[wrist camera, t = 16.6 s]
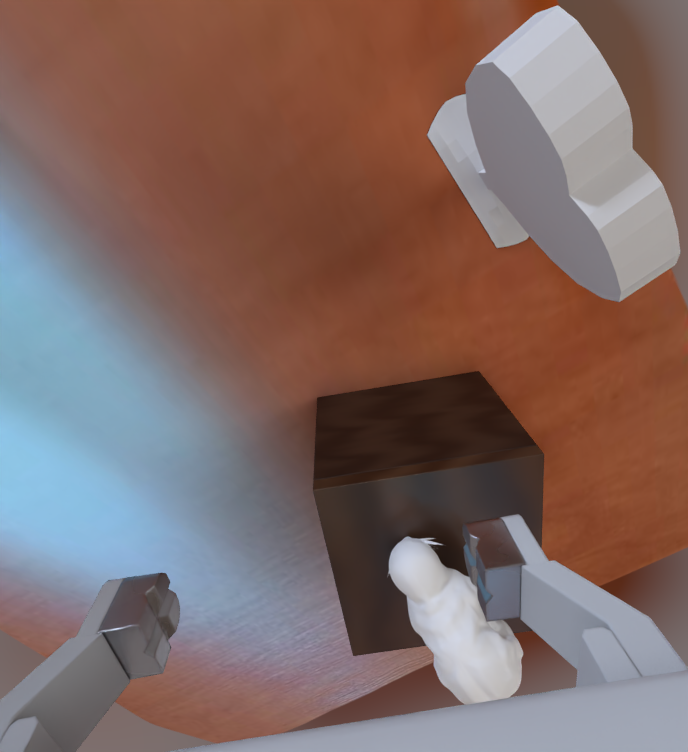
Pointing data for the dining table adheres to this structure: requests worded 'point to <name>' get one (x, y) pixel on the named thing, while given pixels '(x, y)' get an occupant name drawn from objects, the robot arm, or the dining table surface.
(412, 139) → the dining table surface
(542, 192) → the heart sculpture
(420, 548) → the white figurine
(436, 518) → the shelf stand
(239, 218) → the dining table surface
